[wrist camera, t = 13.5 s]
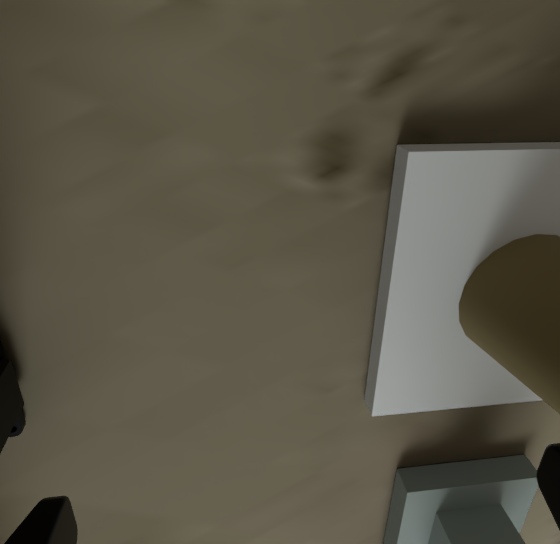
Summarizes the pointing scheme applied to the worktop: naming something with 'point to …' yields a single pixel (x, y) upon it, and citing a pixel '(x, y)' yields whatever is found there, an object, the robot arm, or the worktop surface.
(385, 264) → the arbor press
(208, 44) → the worktop surface
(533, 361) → the cork
